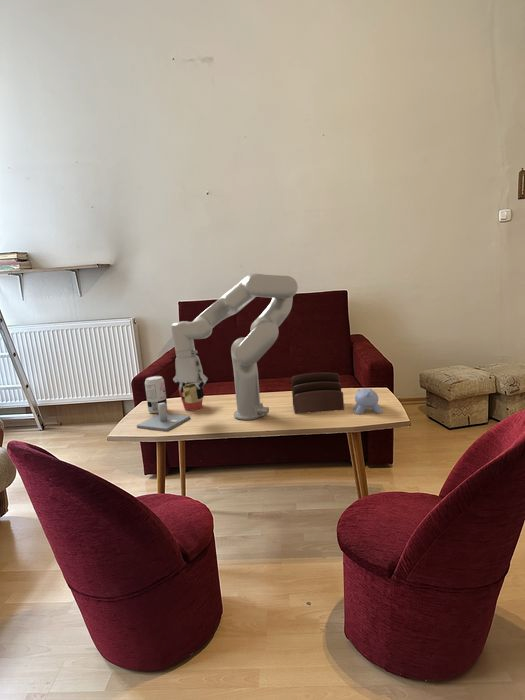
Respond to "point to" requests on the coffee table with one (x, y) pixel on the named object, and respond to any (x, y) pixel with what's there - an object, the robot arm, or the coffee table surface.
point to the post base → (162, 424)
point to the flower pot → (191, 404)
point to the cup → (190, 393)
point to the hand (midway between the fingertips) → (193, 397)
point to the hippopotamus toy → (366, 401)
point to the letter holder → (317, 392)
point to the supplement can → (155, 393)
